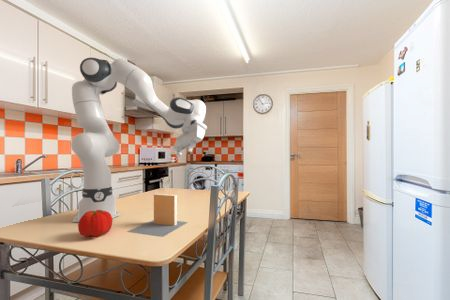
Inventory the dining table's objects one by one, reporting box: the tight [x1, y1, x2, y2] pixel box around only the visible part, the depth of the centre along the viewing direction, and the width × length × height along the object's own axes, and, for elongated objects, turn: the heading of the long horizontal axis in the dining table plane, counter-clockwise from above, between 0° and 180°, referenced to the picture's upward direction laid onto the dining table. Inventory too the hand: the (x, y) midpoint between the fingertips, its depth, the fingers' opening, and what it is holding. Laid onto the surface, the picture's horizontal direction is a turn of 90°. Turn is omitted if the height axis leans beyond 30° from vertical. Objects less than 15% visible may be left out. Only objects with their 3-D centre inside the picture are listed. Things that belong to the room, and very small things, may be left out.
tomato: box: [77, 210, 113, 238], centre depth 84 cm, size 11×11×9 cm
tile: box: [153, 193, 178, 226], centre depth 95 cm, size 2×10×12 cm, turn 70°
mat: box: [126, 219, 189, 238], centre depth 92 cm, size 18×16×1 cm
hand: (183, 154), depth 103 cm, fingers open, 8 cm apart
